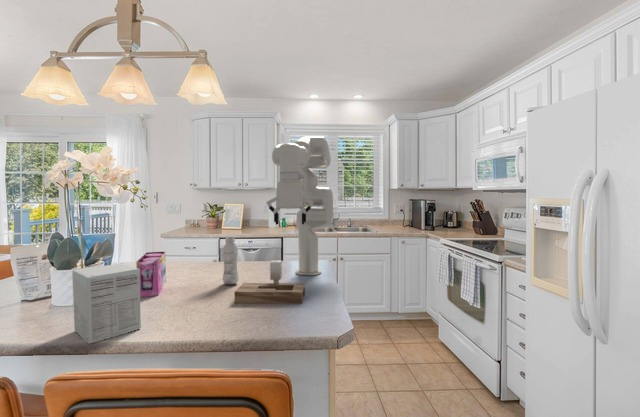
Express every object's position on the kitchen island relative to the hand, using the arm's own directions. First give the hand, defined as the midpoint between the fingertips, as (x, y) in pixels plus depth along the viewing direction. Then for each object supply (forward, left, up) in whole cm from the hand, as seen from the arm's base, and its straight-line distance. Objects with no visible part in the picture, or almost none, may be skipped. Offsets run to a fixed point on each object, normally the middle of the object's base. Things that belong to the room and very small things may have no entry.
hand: (290, 224), depth 125 cm
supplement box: (+32, -48, -28) cm, 64 cm away
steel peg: (-10, -7, -28) cm, 30 cm away
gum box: (-10, -58, -28) cm, 65 cm away
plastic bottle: (-18, -28, -28) cm, 43 cm away
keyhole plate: (+1, -7, -28) cm, 28 cm away
